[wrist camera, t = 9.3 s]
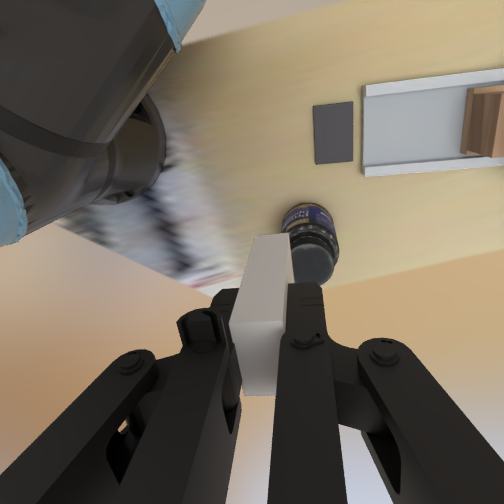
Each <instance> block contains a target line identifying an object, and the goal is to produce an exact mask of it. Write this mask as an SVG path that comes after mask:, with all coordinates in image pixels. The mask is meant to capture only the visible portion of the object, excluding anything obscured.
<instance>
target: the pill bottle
mask: <svg viewBox="0 0 504 504" xmlns="http://www.w3.org/2000/svg"><path fill="white" fill-rule="evenodd" d="M281 233H289V241H290V249H291V258H292V266H293V275H294V283H301V282H314V281H315V282H316V283H317V284H318V285H319V286H320V285H322V284H324V283H325V282H327V281H328V280H329V279H330V277H331V275H332V273H333V270H334V266H335V265H336V263H337V260H338V257H339V246H338V241H337V237H336V232H335V228H334V224H333V220H332V217H331V215H330V214H329V213H328V211H327V210H326V209H325V208H323V207H322V206H320V205H317V204H313V203H303V204H299V205H297V206H295V207H294V208H292V209H291V210H290V211H289V212H288V213H287V214H286V216H285V218H284V220H283V225H282V231H281Z"/></svg>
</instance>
